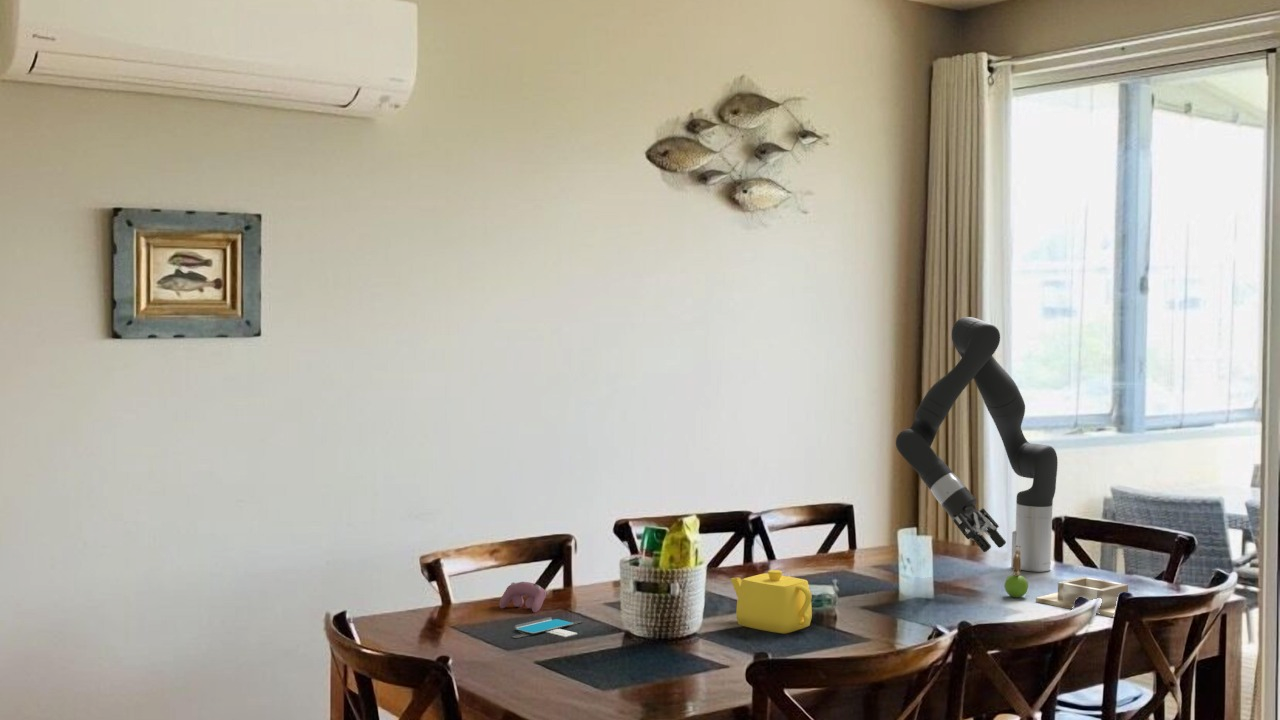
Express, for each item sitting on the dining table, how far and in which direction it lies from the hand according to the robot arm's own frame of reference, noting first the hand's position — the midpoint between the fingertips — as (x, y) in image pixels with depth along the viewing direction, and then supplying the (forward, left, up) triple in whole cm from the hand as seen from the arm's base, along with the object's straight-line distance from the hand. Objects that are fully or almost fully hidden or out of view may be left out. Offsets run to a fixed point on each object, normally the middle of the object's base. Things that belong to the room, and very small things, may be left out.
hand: (995, 547), depth 327 cm
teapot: (-12, -67, -11) cm, 69 cm away
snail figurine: (+5, +1, -11) cm, 13 cm away
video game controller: (-55, -101, -11) cm, 115 cm away
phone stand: (-36, -108, -12) cm, 114 cm away
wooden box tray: (+21, +8, -11) cm, 25 cm away
